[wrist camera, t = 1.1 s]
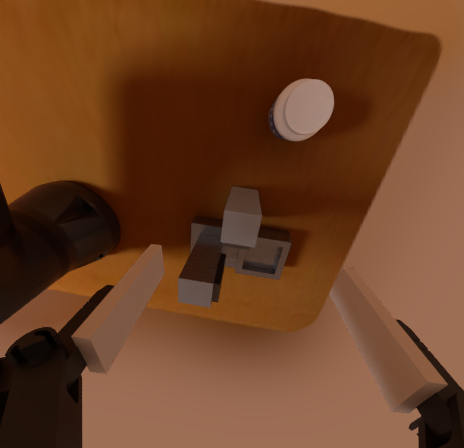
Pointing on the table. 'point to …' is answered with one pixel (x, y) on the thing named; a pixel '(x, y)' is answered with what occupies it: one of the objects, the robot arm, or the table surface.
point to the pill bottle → (301, 109)
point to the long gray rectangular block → (241, 218)
